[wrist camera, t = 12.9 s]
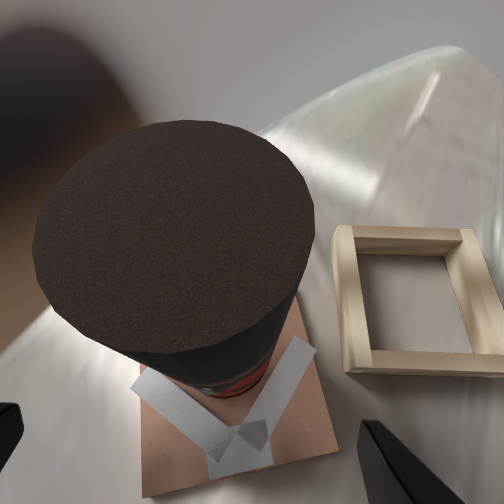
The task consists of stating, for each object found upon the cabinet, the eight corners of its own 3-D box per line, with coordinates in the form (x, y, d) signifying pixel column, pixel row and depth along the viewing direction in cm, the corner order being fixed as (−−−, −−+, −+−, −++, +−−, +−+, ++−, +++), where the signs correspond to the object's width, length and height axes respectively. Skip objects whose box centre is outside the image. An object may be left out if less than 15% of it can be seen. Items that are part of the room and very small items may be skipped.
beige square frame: (496, 377, 20) (527, 373, 17) (344, 372, 20) (356, 367, 18) (452, 246, 24) (472, 229, 22) (330, 241, 25) (338, 224, 22)
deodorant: (266, 302, 21) (295, 115, 8) (275, 395, 18) (343, 341, 5) (182, 307, 21) (69, 124, 8) (177, 402, 18) (-13, 366, 5)
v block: (142, 313, 22) (126, 298, 19) (290, 286, 23) (296, 268, 20) (146, 495, 17) (125, 511, 14) (335, 449, 18) (351, 455, 15)
